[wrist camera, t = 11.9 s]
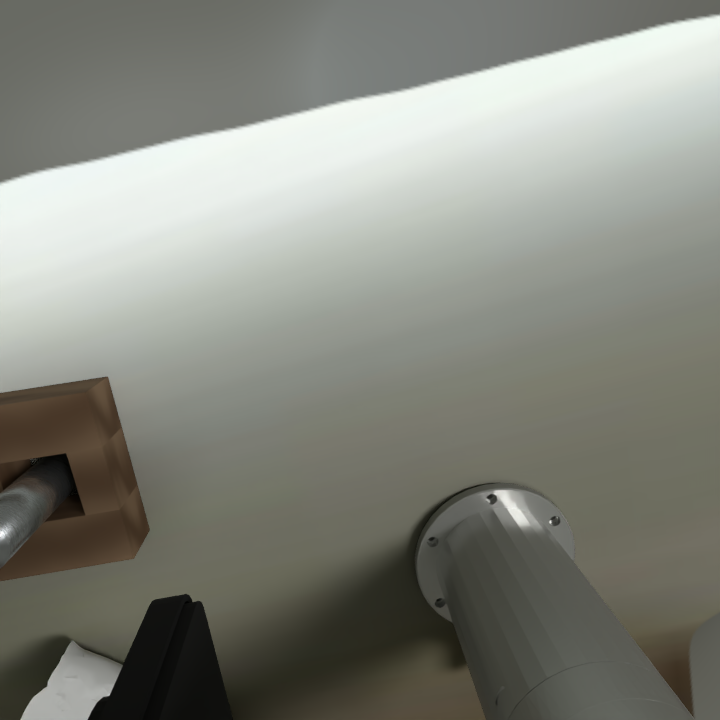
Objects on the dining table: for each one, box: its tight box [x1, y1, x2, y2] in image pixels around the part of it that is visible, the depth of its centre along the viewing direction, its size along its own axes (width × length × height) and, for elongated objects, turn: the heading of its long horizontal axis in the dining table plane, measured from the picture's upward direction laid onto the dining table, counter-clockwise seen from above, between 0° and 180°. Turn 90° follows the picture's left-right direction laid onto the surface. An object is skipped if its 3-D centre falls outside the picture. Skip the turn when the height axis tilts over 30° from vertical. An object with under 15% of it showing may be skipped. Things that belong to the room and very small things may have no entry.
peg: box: [0, 453, 77, 568], centre depth 33 cm, size 3×3×10 cm
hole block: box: [0, 377, 150, 581], centre depth 36 cm, size 12×9×4 cm
